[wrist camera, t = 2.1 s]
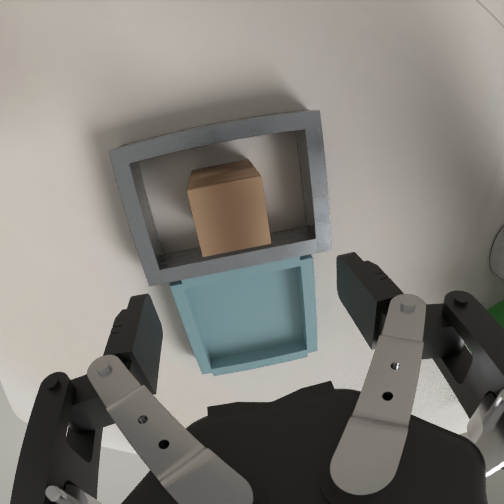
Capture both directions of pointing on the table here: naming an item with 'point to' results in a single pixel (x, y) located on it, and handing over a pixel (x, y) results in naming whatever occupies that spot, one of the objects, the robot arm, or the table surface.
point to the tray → (250, 315)
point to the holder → (196, 265)
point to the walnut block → (228, 208)
